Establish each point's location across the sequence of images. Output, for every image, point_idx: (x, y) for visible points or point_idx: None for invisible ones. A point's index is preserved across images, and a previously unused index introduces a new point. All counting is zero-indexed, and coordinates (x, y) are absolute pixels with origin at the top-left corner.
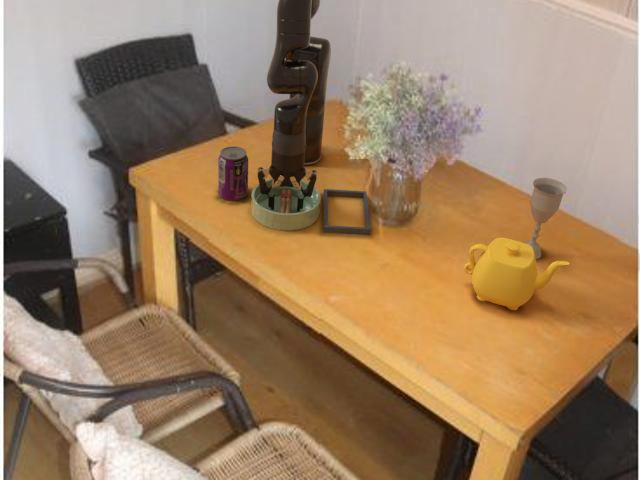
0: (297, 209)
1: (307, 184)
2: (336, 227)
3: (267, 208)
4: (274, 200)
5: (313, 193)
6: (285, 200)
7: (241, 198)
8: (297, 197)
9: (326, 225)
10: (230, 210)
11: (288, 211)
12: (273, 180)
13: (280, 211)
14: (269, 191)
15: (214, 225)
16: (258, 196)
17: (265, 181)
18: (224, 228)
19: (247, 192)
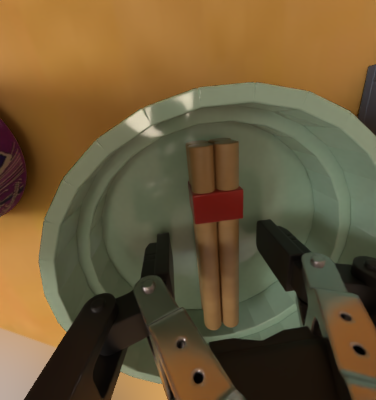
0: (261, 253)
1: (359, 147)
2: None
3: (144, 233)
4: (169, 248)
5: (357, 180)
6: (216, 234)
7: (14, 205)
8: (255, 127)
9: None
10: (15, 256)
11: (234, 302)
12: (153, 341)
13: (203, 299)
14: (145, 333)
15: (10, 330)
16: (88, 235)
17: (94, 350)
18: (46, 333)
19: (16, 162)
